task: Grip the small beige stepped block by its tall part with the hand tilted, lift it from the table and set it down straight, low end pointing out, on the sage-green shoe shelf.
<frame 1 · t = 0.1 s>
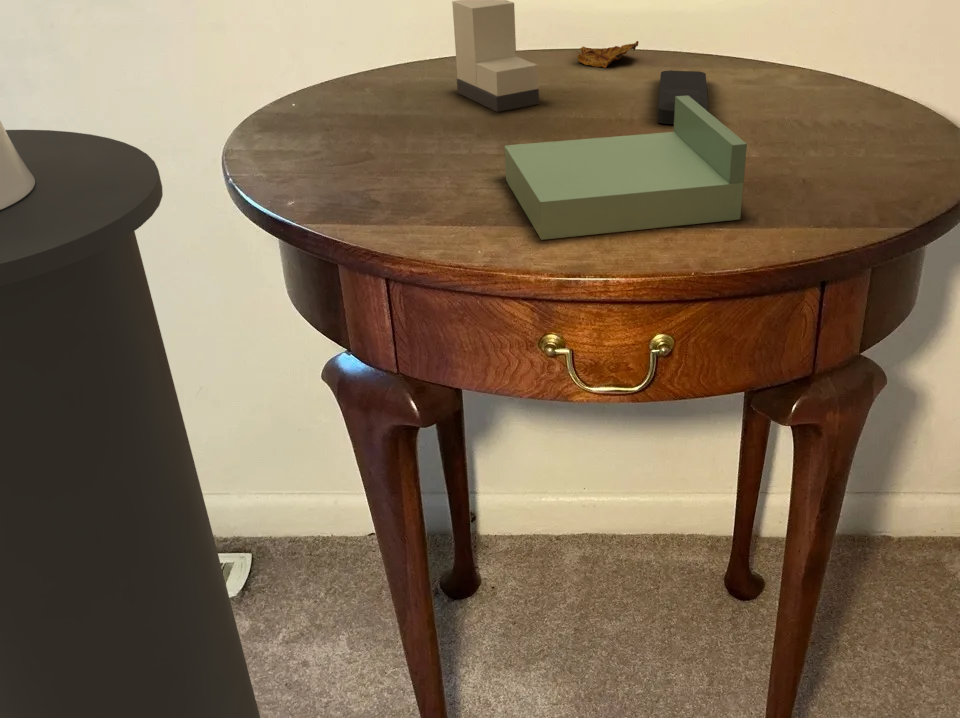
shoe shelf: (618, 199, 85), on the table
leaf: (605, 62, 121), on the table
beige stepped block: (497, 98, 108), on the table
remote control: (682, 105, 108), on the table
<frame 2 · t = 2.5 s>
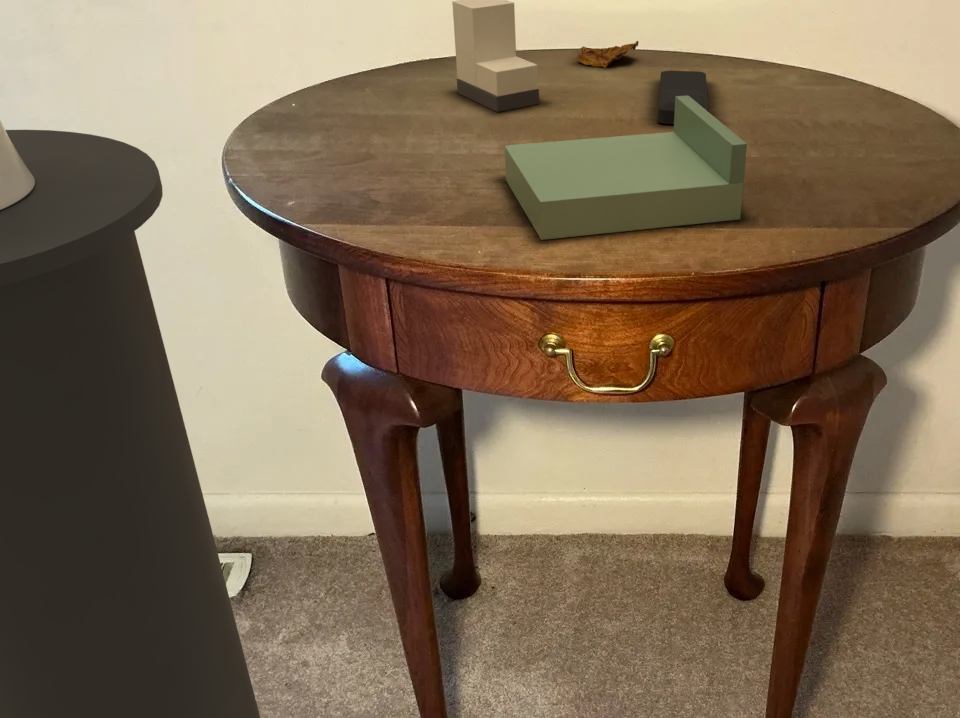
nothing on the table moved.
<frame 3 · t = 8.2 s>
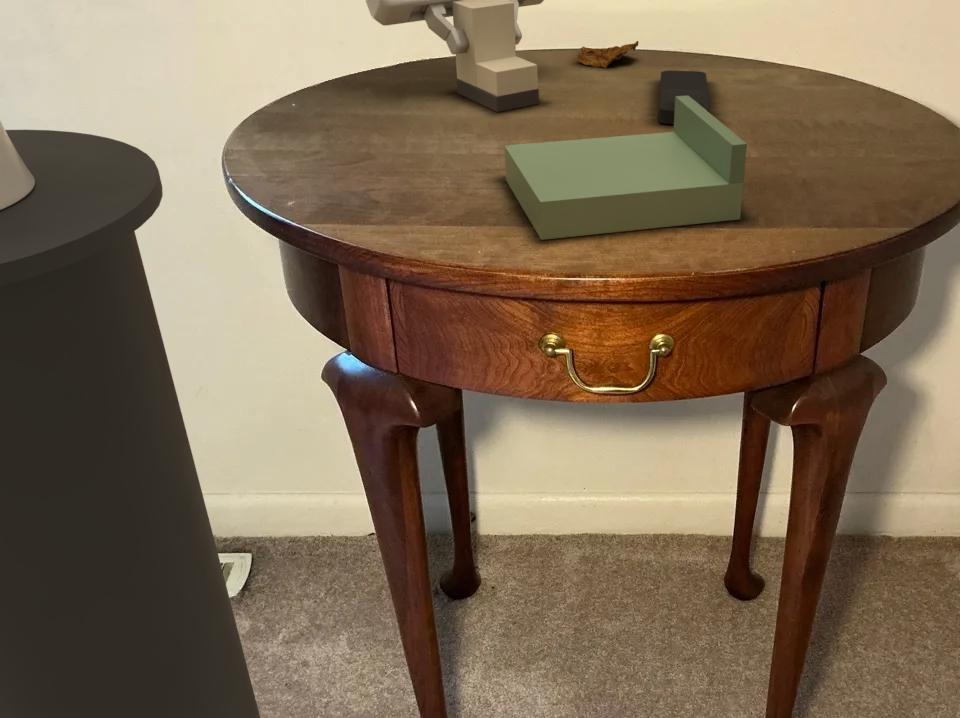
hand: (488, 46, 106), 5 cm above the table, tool tilted 45°, fingers closed on beige stepped block, 5 cm apart
beige stepped block: (497, 98, 108), on the table, touching gripper
everything else where it was.
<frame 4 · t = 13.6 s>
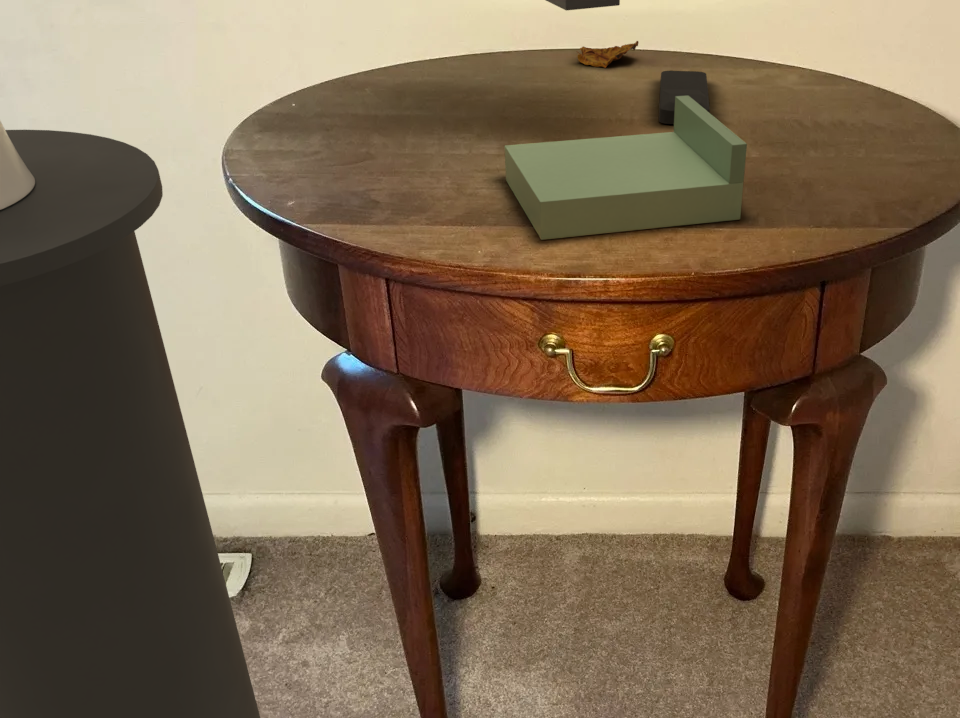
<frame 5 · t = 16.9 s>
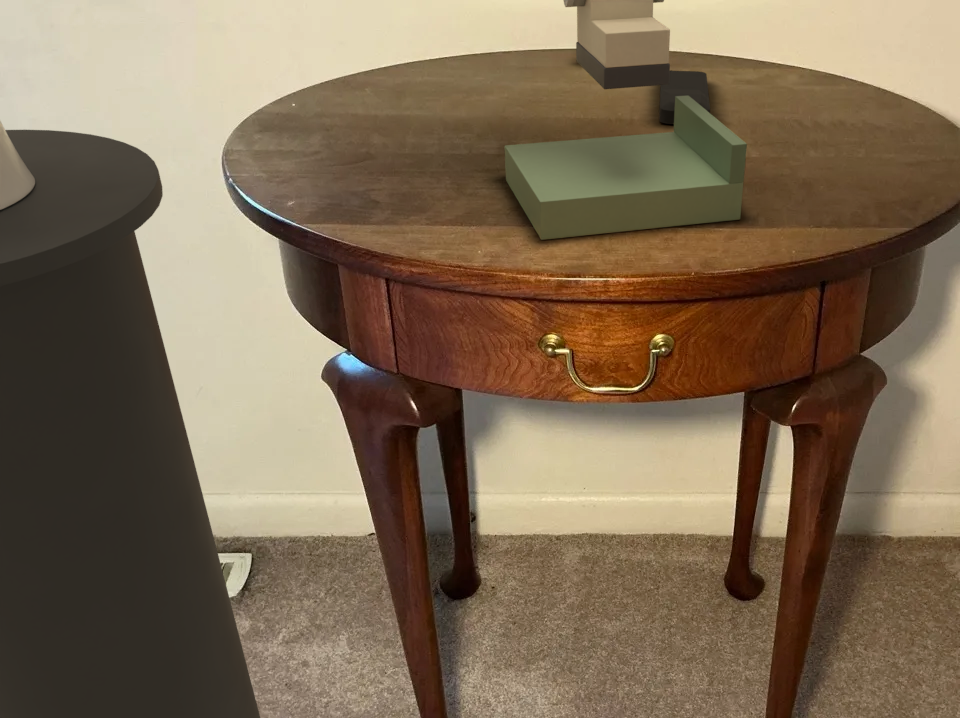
hand: (617, 0, 78), 15 cm above the table, tool tilted 45°, fingers closed on beige stepped block, 5 cm apart
beige stepped block: (621, 72, 80), point 10 cm above the table, touching gripper
everything else where it was.
when the fingers open (8 cm above the table, at t = 19.3 s): beige stepped block stays where it is, resting on shoe shelf.
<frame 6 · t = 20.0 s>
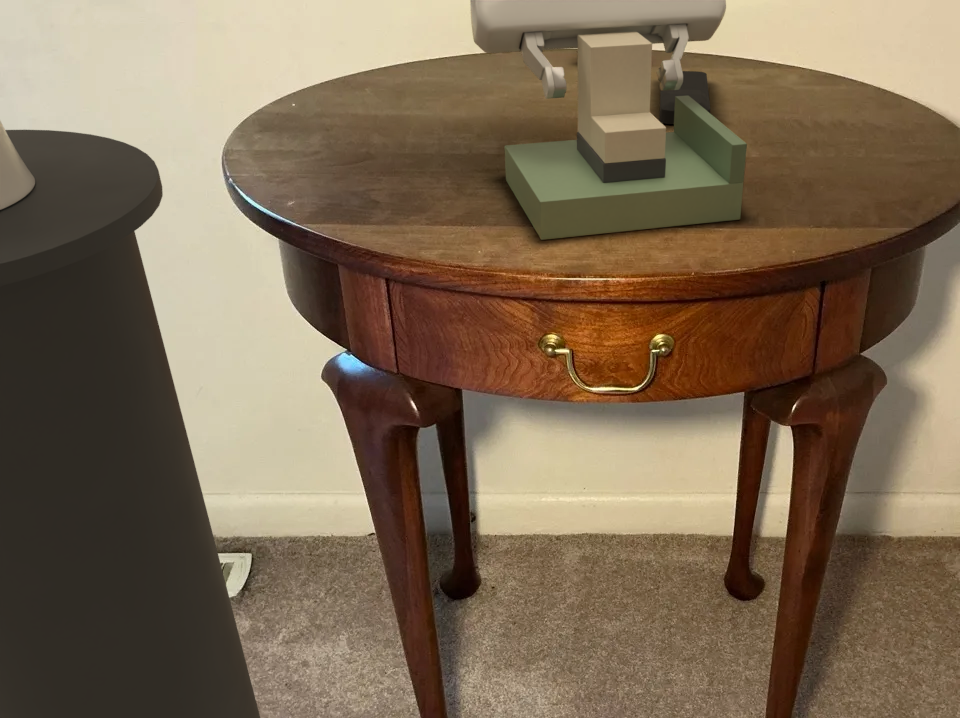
hand: (615, 90, 82), 8 cm above the table, tool tilted 45°, fingers open, 8 cm apart
beige stepped block: (619, 163, 84), point 3 cm above the table, touching shoe shelf
everything else where it was.
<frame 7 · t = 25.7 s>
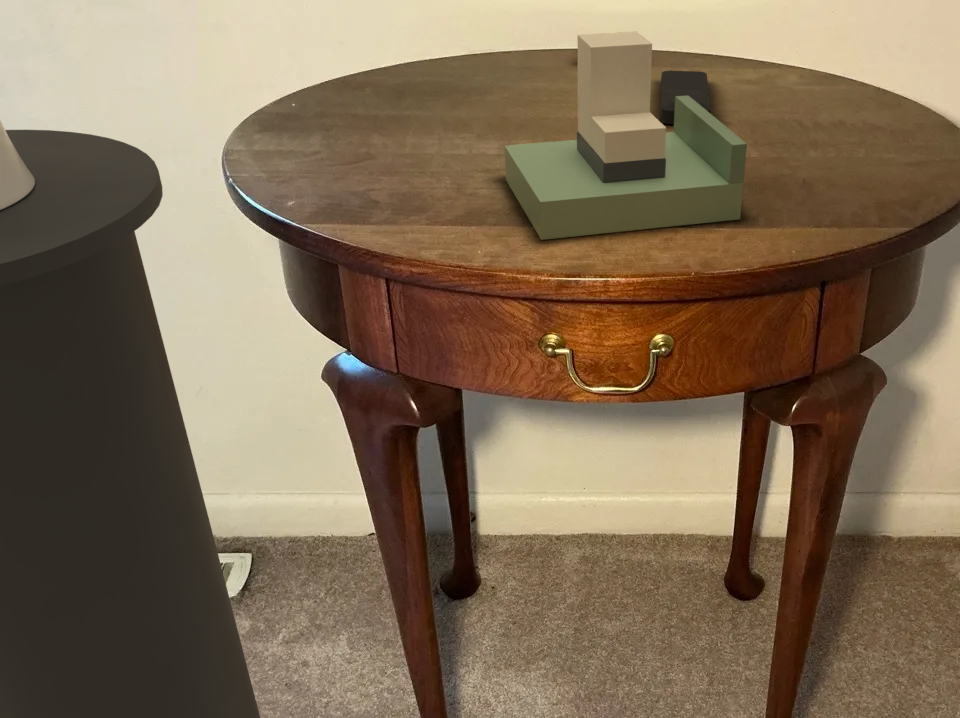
nothing on the table moved.
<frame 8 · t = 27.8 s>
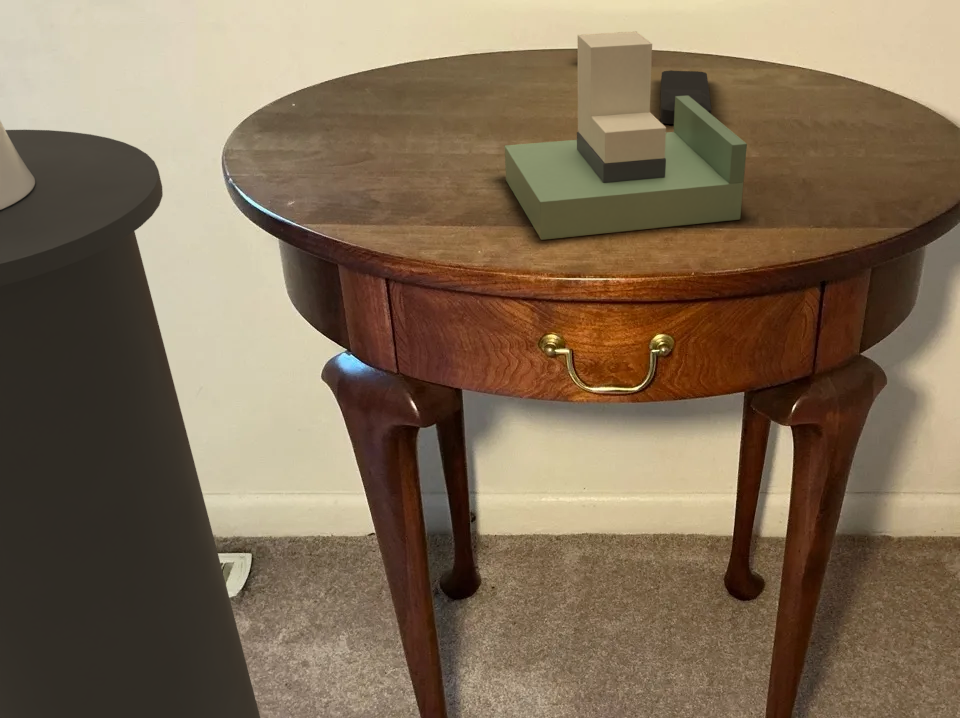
nothing on the table moved.
at the end: beige stepped block inside the target area on the shoe shelf (0.0 cm from its centre), point 3.0 cm above the shoe shelf's base; beige stepped block tilted 0°; the gripper is holding nothing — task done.
